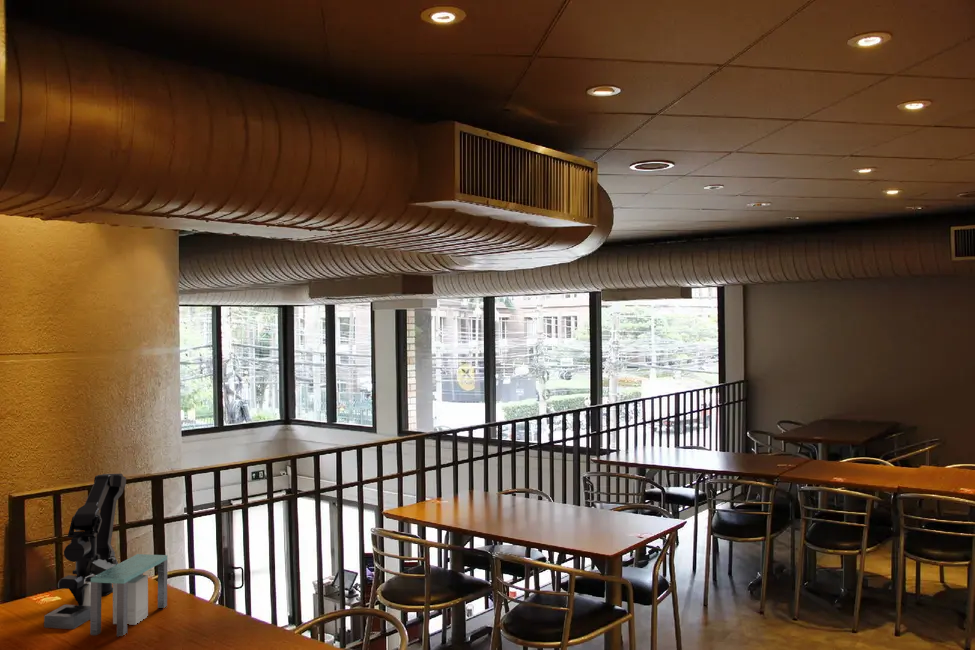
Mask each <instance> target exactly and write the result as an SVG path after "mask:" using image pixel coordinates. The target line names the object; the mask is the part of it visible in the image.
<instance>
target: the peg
mask: <svg viewBox="0 0 975 650" xmlns="http://www.w3.org/2000/svg"><path fill="white" fill-rule="evenodd" d="M85 584H89V585H88V586H87V587H86V588H85V591H84V601H83V606H91V581H86V582H85Z"/></svg>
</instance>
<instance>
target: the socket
mask: <svg viewBox="0 0 975 650" xmlns="http://www.w3.org/2000/svg"><path fill="white" fill-rule="evenodd" d="M90 609H91V606H83V605H78V604H63V605H61V606H59V607H58V608H56V609H53V610H52V611H50V612H49V613H47V614H44V616H43V627H44V628H45V629H62V630H63V629H64V630H65V629H67V630H75V629H76V628H78V627H79V626H82V625H83V624H85V623H87V622H88V621H89V620H90Z"/></svg>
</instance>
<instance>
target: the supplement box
mask: <svg viewBox="0 0 975 650" xmlns="http://www.w3.org/2000/svg"><path fill="white" fill-rule="evenodd" d="M148 580H149V575H147V574H145V575H144V574H143V575H138V576H137V577H135V578H133V579H131V580H130V581H128V613H127V624H129V625H130V626H131V625H133V626H136V625H138V624H140V623H141V622H142V621H144V620H145V619H146V618H148V617H147V616H149V581H148ZM112 588H113V592H112V625H117V583H112ZM143 619H144V620H143ZM140 621H141V622H140ZM137 623H138V624H137Z"/></svg>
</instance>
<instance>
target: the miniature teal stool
mask: <svg viewBox="0 0 975 650" xmlns="http://www.w3.org/2000/svg"><path fill="white" fill-rule="evenodd" d="M168 556H169V555H167V554H143V553H136V554H134V555H133V556H131V557H129V558H128V559H125V560H123V561H122V562H120V563H119V562H118V564H117V565H115V566H113V567H111V568H109V569H107V570H105V571H104V572H102V573H100V574H98V575H96V576H94V577H92V578H91V609H90V621H89V623H90V625H89V627H90V629H89V630H90V631H89V632H90V633H89V635H90V636H98V635H99V634H101V633H102V595H101V584H102V583H112V584H113V583H117V624H116V637H119V636H123V635H125V634H126V633H127V634H128V625H127V613H128V581H130V580H131V579H133V578H135V577H137V576H138V575H144V573H146V572H147V571H149V570H151V569H153V568H154V567H156V566H157V609H158V608H165V607H166V606H167V607H168ZM167 607H166V608H167ZM166 608H165V609H166ZM125 636H126V635H125Z"/></svg>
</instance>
